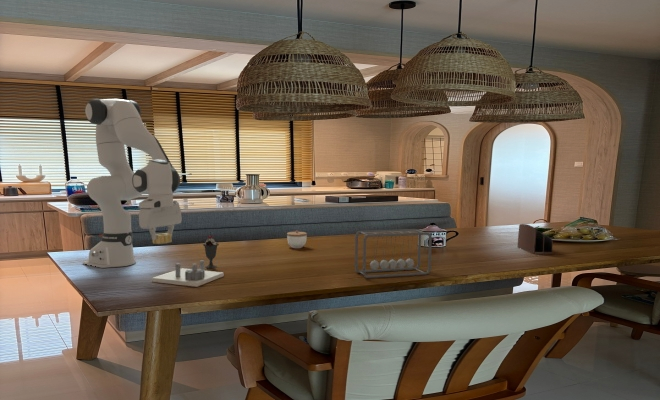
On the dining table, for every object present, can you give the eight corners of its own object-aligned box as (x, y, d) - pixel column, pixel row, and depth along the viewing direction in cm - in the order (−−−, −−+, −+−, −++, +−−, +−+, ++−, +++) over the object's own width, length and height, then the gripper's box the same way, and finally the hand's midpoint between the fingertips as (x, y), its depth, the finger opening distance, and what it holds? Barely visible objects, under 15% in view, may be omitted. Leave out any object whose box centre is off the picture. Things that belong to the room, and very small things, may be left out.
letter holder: (533, 254, 249) (534, 227, 248) (517, 247, 269) (518, 222, 267) (552, 254, 249) (553, 227, 248) (534, 247, 269) (536, 222, 268)
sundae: (212, 264, 215) (212, 231, 214) (222, 267, 211) (221, 232, 209) (199, 267, 210) (199, 232, 209) (209, 269, 205) (209, 234, 204)
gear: (150, 243, 183) (149, 236, 183) (156, 241, 190) (155, 233, 190) (168, 243, 183) (168, 235, 183) (173, 240, 190) (173, 233, 190)
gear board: (152, 281, 184) (151, 263, 184) (181, 271, 201) (181, 255, 200) (196, 286, 177) (196, 267, 177) (223, 276, 194) (223, 258, 194)
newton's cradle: (363, 279, 192) (363, 234, 191) (354, 273, 202) (354, 230, 201) (431, 274, 201) (432, 232, 200) (419, 269, 211) (420, 228, 210)
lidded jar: (283, 248, 258) (283, 230, 257) (291, 245, 268) (291, 228, 268) (302, 249, 255) (302, 231, 254) (309, 246, 265) (309, 229, 264)
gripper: (172, 200, 196) (173, 234, 197) (135, 203, 177) (136, 241, 178) (185, 200, 194) (186, 234, 195) (149, 204, 175) (150, 242, 176)
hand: (162, 238), depth 186 cm, fingers closed on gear, 7 cm apart
